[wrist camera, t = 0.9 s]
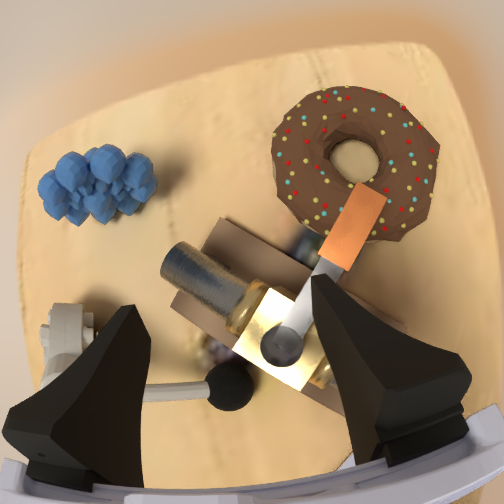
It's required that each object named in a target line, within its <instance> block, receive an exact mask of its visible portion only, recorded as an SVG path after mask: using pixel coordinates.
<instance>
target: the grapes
mask: <svg viewBox="0 0 504 504" xmlns="http://www.w3.org/2000/svg"><path fill="white" fill-rule="evenodd" d="M152 173H153V164H152V162H151V161H150V159H149V158H148V157H146V156H144V155H143V154H139V153H135V152H134V153H132V154H130V155H129V156H127V157H125V155H124V153H123V152H122V151H121V149H119V148H117V147H116V146H114V145H110V144H105V145H103V146H101V147H100V148H95V147H94V148H92V149H90V150H89V151H87V152H86V153H85V155H84V156H82V155H80V154H79V153H76V152H73V151H72V152H69V153H67V154H66V155H64V156H63V157H62V158H61V159H60V160H59V161H58V162H57V165H56V168H55V170H54V169H53V170H51V171H49V172H48V173H46V174H45V175H44V176H43V177H42V178H41V179H40V181H39V185H38V193H39V196H40V197H41V198H42V200H43V205H44V209H45V211H46V212H47V213H48V214H49V215H50V216H51V217H53V218H55V219H56V220H58V221H59V220H60V219H61V218H62V217H63V216H65V217H66V218H67V219H68V220H69V221H70V222H71V223H73V224H75V225H77V226H78V227H79V226H80V225H81V224H82V223H83V222H84V221H85V220H86V219H87V218H88V216H89V214H90V213H91V215H92V216H93V217H94V218H95V219H96V220H97V221H99V222H101V223H103V224H105V225H106V224H107V223H108V222H109V221H110V220H111V218H112V217H113V216H114V215H115V213H116V210H117V209H118V210H119V211H121V212H122V213H124V214H126V215H128V216H131V215H132V214H133V213H134V212H135V211H136V210H137V209H138V207H139V206H140V203H141V202H142V203H145V202H146V201H147V200H148V199H149V198H150V197H151V196H152V195H153V194H154V192H155V190H156V187H157V179H156V178H155V176H154V175H153V174H152Z"/></svg>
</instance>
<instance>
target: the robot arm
mask: <svg viewBox="0 0 504 504" xmlns="http://www.w3.org/2000/svg"><path fill="white" fill-rule="evenodd" d="M310 278H311V297H312V315H313V319H314V323H315V327H316V330H317V334H318V337H319V340H320V342H321V345H322V347H323V350H324V352H325V355H326V357H327V360H328V362H329V365H330V367H331V370H332V372H333V375H334V377H335V380H336V383H337V386H338V389H339V393H340V397H341V401H342V405H343V409H344V413H345V417H346V421H347V426H348V430H349V435H350V440H351V444H352V449H353V452H352V453H351V454H350V455H349V457H348V458H347V459H346V460H345V461H344V462H343V463H342V464H341V465H340V467H339V468H338V469H337V470H336V471H334V472H329V473H325V474H320V475H316V476H311V477H305V478H300V479H294V480H288V481H282V482H275V483H268V484H260V485H251V486H241V487H228V488H211V489H152V488H144V482H143V474H142V462H141V410H142V402H143V396H144V390H145V385H146V379H147V374H148V368H149V363H150V352H151V338H150V336H149V334H148V332H147V330H146V328H145V325H144V323H143V321H142V319H141V317H140V315H139V313H138V310H137V308H136V306H135V304H133V305H126V306H121V308H120V309H119V310H118V311H117V312H116V313H115V314H114V316H113V317H112V318H111V319H110V320H109V322H108V323H107V324H106V325H105V327H104V328H103V329H102V330H101V331H100V333H99V334H98V335H97V336H96V338H95V339H94V340H93V341H92V342H91V343H90V345H89V346H88V347H87V348H86V349H85V350H84V351H83V353H82V354H81V355H80V356H79V357H78V358H77V359H76V360H75V361H74V362H73V363H72V364H71V365H70V366H69V367H68V368H67V369H66V370H65V371H64V372H62V373H61V374H60V375H59V376H58V377H56V378H55V379H54V380H53V381H52V382H50V383H49V384H48V385H47V386H45V387H44V388H43V389H41V390H40V391H38V392H37V393H35V394H34V395H33V396H31V397H29V398H28V399H26V400H24V401H22V402H21V403H19V404H17V405H15V406H14V407H12V408H10V410H9V412H8V415H7V418H6V421H5V423H4V427H3V429H2V434H3V437H4V438H5V439H6V441H7V442H8V443H10V445H12V446H13V447H14V448H15V449H17V450H18V451H19V452H20V453H22V454H23V455H24V456H26V457H27V458H28V459H29V463H28V465H26V464H24V463H22V462H19V461H15V460H12V459H8V458H4V460H3V464H2V467H1V471H0V504H449V503H451V502H453V501H455V500H457V499H459V498H461V497H463V496H465V495H467V494H469V493H470V492H472V491H474V490H476V489H478V488H479V487H481V486H483V485H485V484H486V483H488V482H490V481H491V480H493V479H494V478H495V477H497V476H498V475H499V474H500V473H501V472H503V471H504V417H503V415H502V413H501V411H500V410H499V408H498V406H497V404H496V403H493V404H491V405H489V406H488V407H486V408H484V409H482V410H480V411H478V412H476V413H474V414H472V415H470V416H469V417H468V418H467V419H466V420H465V419H464V417H463V415H462V413H463V412H464V408H463V406H462V404H461V400H462V398H463V397H464V395H465V393H466V392H467V390H468V388H469V386H470V384H471V381H472V375H471V373H470V371H469V370H468V368H467V366H466V364H465V363H464V361H463V360H462V359H461V357H460V356H459V355H458V354H457V353H453V352H450V351H447V350H443V349H440V348H437V347H434V346H431V345H429V344H426V343H424V342H421V341H419V340H417V339H414V338H412V337H410V336H408V335H406V334H404V333H402V332H400V331H398V330H396V329H395V328H393V327H391V326H390V325H388V324H386V323H385V322H383V321H382V320H380V319H379V318H377V317H376V316H374V315H373V314H372V313H370V312H369V311H368V310H366V309H365V308H364V307H362V306H361V305H360V304H359V303H358V302H356V301H355V300H354V299H353V298H352V297H351V296H349V295H348V294H347V293H346V292H345V291H344V290H343V289H342V288H341V287H340V286H339V285H338V284H337V283H335V282H334V281H333V280H332V279H331V278H330V277H329V276H328V275H327V274H326V273H323V274H318V275H312V276H310Z"/></svg>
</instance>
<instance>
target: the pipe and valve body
mask: <svg viewBox="0 0 504 504" xmlns="http://www.w3.org/2000/svg"><path fill="white" fill-rule="evenodd" d="M230 267H231V266H229V265H227V264H226V263H224V262H223V261H221V260H219V259H218V258H216V257H215V256H213V255H211V254H207V253H202V252H201V251H199V250H197V249H196V248H194V247H193V246H191V245H190V244H188V243H186V242H184V241H182V242H179V243H178V244H176V245H175V246H174V247H173V248H172V249H171V250H170V251H169V252H168V254H167V255H166V257H165V259H164V261H163V263H162V266H161V269H160V275H161V277H162V278H163V279H165V280H166V281H168V282H169V283H170V284H172V285H173V286H175V287H176V288H177V289H179V290H180V291H182V292H183V293H185V294H186V295H188V296H189V297H190V298H192V299H193V300H195V301H196V302H198V303H199V304H201V305H202V306H204V307H205V308H207V309H208V310H210V311H211V312H212V313H214V314H215V315H217V316H218V317H220V318H221V319H223V320H225V321H226V324H225V330H227V331H228V332H230V333H231V334H233V335H234V336H236V337H237V338H239V340H238V342H237V343H236V345H235V346H234V348H233V350H234V351H235V352H237V353H238V354H240V355H241V356H243V357H244V358H246V359H248V360H249V361H251V362H252V363H254V364H255V365H257V366H259V367H260V368H262V369H263V370H265V371H267V372H268V373H270V374H272V375H273V376H275V377H276V378H278V379H280V380H281V381H283V382H285V383H286V384H288V385H290V386H291V387H293V388H295V389H296V390H298V391H300V390H301V389H302V388H303V386H304V385H305V383H306V382H307V381H309V382H310V383H312V384H314V385H316V386H317V387H319V388H321V389H324V388H325V387H326V386H328V385H330V386H332V387H334V388H336V389H337V390H339V389H338V386H337V383H336V380H335V377H334V375H333V372H332V370H331V367H330V365H329V362H328V360H327V357H326V355H325V352H324V350H323V347H322V345H321V342H320V340H319V337H318V334H317V330H316V327H315V323H314V320H313V322H312V324H311V325H310V327H309V328H308V330H307V332H306V333H305V335H304V336H303V337H304V342H305V344H304V349H303V353H302V355H301V357H300V359H299V360H298V361H297V362H296V363H295V364H294V365H292V366H290V367H286V368H278V367H274V366H272V365H270V364H269V363H267V362H266V361H265V360H264V358H263V357H262V354H261V351H260V342H261V339H262V337H263V335H264V334H265V333H266V332H267V331H268V330H269V329H270V328H272V327H273V326H275V325H277V324H281V323H282V322H283V320H284V319H285V317H286V315H287V314H288V312H289V311H290V309H291V307H292V306H293V304H294V302H295V301H296V299H297V297H298V296H297V295H295V294H293V293H292V292H290V291H289V290H287V289H285V288H284V287H282V286H278V287H270V286H269V285H267V284H265V283H264V282H262V281H261V280H259V279H255V280H254V281H253V282H252V283H250V282H248V281H247V280H245V279H244V278H242V277H240V276H239V275H237V274H236V273H234V272H232V271H231V270H229V269H230Z"/></svg>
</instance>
